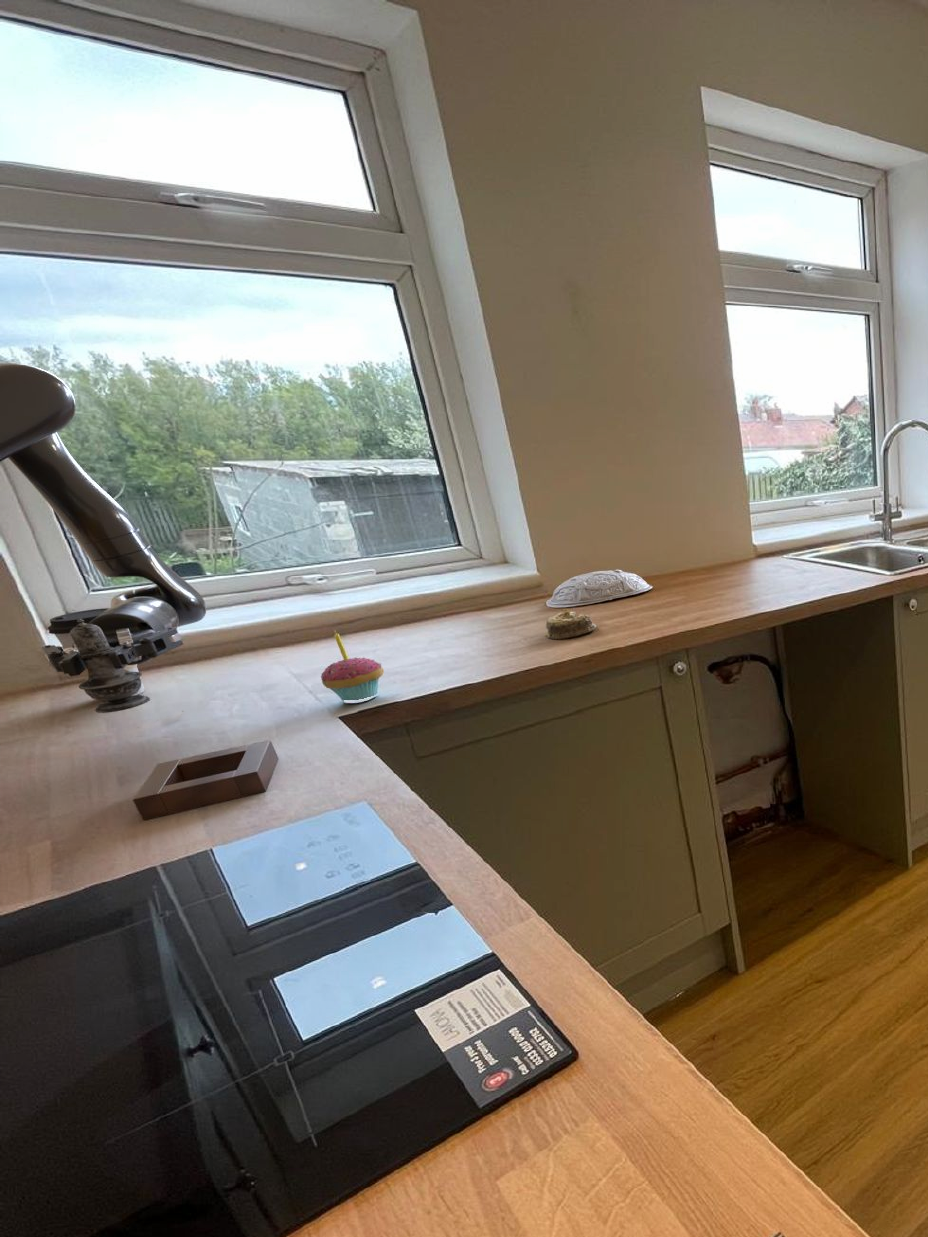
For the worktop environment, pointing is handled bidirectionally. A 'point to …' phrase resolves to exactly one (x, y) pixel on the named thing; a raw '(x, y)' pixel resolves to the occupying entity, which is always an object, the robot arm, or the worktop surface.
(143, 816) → the brown rectangular frame
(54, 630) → the coffee cup
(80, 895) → the worktop surface
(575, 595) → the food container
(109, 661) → the grey stone finial
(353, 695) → the cupcake
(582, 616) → the cake
